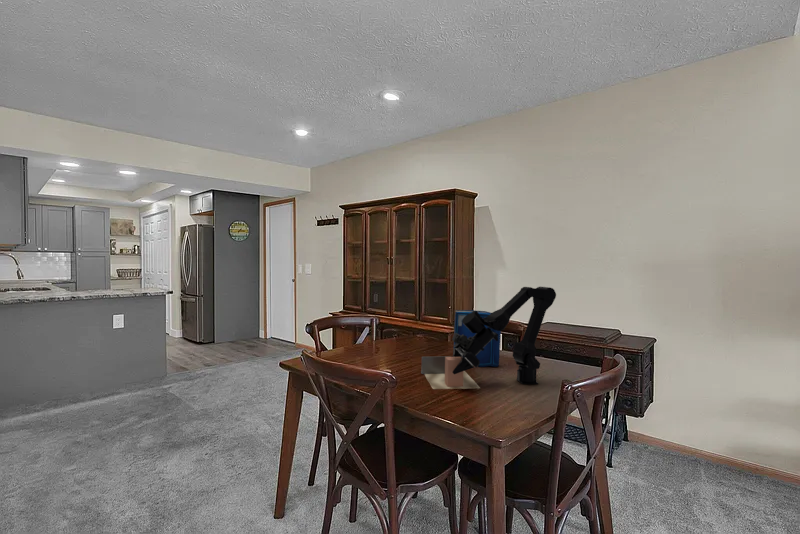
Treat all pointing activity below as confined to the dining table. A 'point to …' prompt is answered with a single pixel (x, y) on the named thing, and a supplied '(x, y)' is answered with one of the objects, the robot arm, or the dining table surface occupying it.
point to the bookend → (433, 365)
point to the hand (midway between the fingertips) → (450, 369)
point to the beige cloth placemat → (439, 383)
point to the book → (490, 350)
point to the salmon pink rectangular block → (451, 378)
